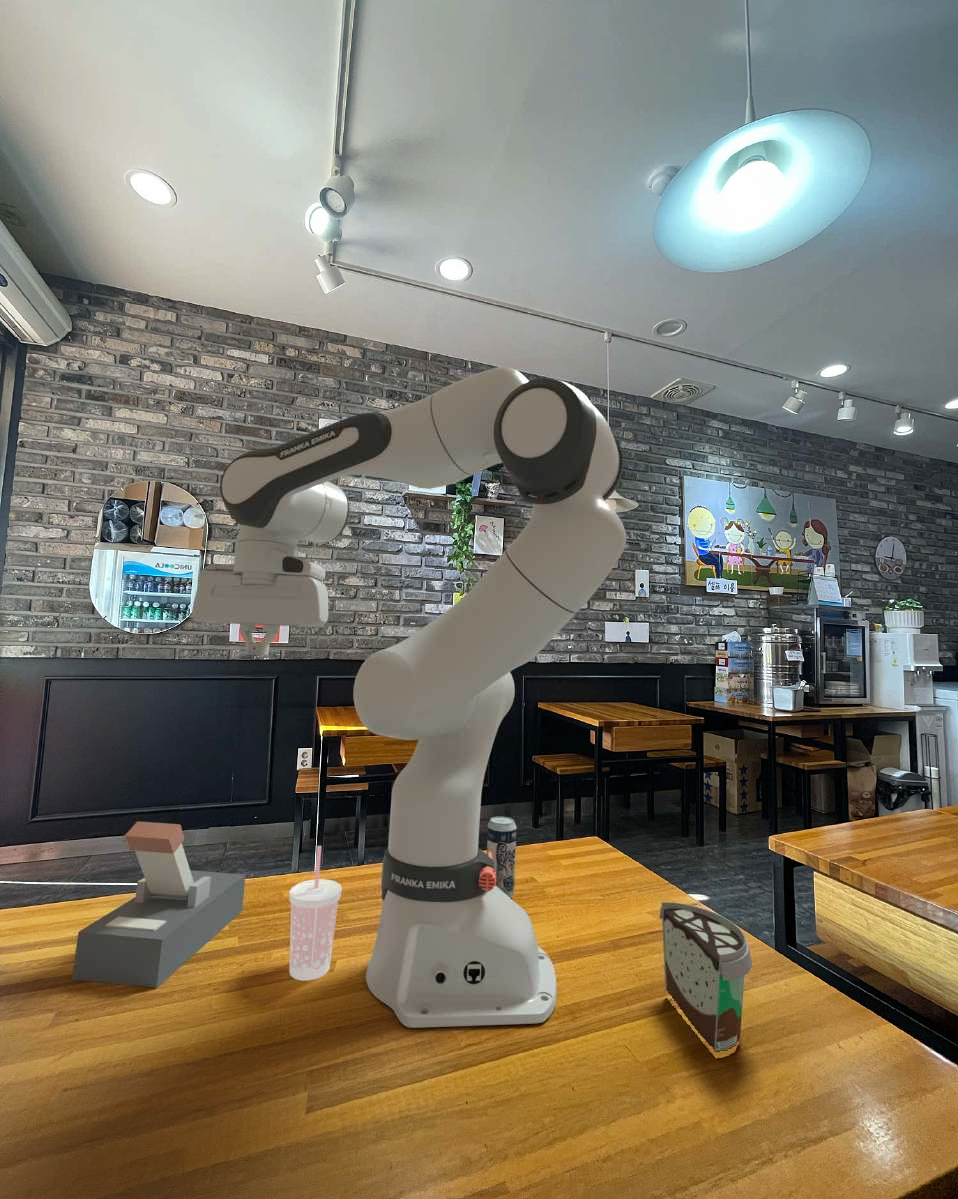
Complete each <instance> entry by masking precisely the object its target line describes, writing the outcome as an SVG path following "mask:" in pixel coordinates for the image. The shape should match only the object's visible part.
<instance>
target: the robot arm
mask: <svg viewBox="0 0 958 1199" xmlns="http://www.w3.org/2000/svg"><path fill="white" fill-rule="evenodd" d="M589 399H590V398H588V397H587V395H585V393H583V392H582V391H581V390H580V389H578V388H577V387H575V386H573V385H572V384H570V383H567V382H566V381H562V380H561V379H556V378H550V377H549V378H548V377H547V378H545V377H544V378H543V377H542V378H536V379H532V380H529V379H527V378H526V376H525V375H524V374H522V373H521V372H520V371H518V369H515V368H513V367H508V366H498V367H497V366H496V367H493V368H490V369H487V370H484V371H481V372H478V373H475V374H473V375H469V376H467V377H465V378H462V379H460V380H457V381H455V382H453V383H451V384H448V385H447V386H445V387H443V388H441V389H439V390H437V391H436V392H433V393H432V394H430V395H428V396H426V397H424V398H421V399H420V400H417V401H415V402H411V403H410V404H405V405H402V406H399V407H395V408H392V409H388V410H382V411H373V412H365V413H359V414H356V415H352V416H348V417H346V418H343V419H341V420H338V421H336V422H333V423H331V424H328V425H326V426H323V427H321V428H318V429H316V430H314V431H311V432H308V433H307V434H304V435H302V436H299V437H297V438H295V439H292V440H290V441H288V442H287V441H286V442H285V443H282V444H280V445H278V446H277V445H276V446H274V447H269V448H258V449H257V448H255V449H252V450H249V451H247V452H244V453H242V454H240V455H239V456H237V457H235V458H234V459H233V460H232V461H231V462H230V463H229V464H228V465H227V466H226V468H225V469H224V471H223V473H222V475H221V478H220V479H221V480H220V483H219V492H220V497H221V500H222V502H223V504H224V506H225V508H226V510H227V512H228V514H229V515H230V517H231V518H232V520H233V521H234V522H235V523H237V524H238V525H240V529H239V533H238V535H237V538H236V540H235V550H234V559H233V560H234V561H233V564H231V563H227V564H219V563H211V564H208V566H205V567H203V569H202V570H200V572H199V575H198V583H197V584H198V585H197V589H196V591H195V595H194V600H193V604H192V610H191V614H192V617H193V619H194V620H195V622H199V623H206V624H207V623H209V624H230V625H231V624H232V625H233V624H234V625H239V633H240V635H241V637H242V639H243V641H244V643H245V647H244V653H245V655H253V656H254V655H257V656H259V655H260V656H269V654H270V645H271V644H272V642H273V640H274V639H275V638H276V637H277V635H278V633H279V627H280V626H282V627H283V626H284V627H286V626H287V627H306V628H307V627H312V628H323V627H324V626H325V625H326V624H327V622H328V618H329V592H328V588H327V586H326V584H324V582H323V581H324V580H325V578H326V570H325V568H324V567H322V566H320V565H318V564H317V563H316V562H315V563H314V562H312V561H310V560H307V559H305V558H304V557H301V556H298V555H297V552H298V546H297V545H298V542H300V541H306V542H310V543H315V544H328V543H331V542H332V541H334V540H336V539H337V538H338V537H339V536H340V535H341V534H342V533H343V531H344V530H345V528H346V526H347V524H348V521H349V516H350V503H349V500H348V499H349V498H348V496H347V495H346V493H345V491H344V490H343V489H342V488H341V487H339V486H337V485H336V484H334V483H332V482H331V481H332V480H335V479H338V478H341V477H345V476H353V475H355V476H356V475H358V476H371V477H377V478H381V479H386V480H388V481H389V480H390V481H394V482H398V483H400V484H405V485H408V486H411V487H415V488H420V489H424V490H425V489H426V490H427V489H428V490H430V489H436V488H441V487H446V486H449V485H454V484H456V483H458V482H461V481H464V480H465V479H467V478H469V477H472V476H473V475H476V474H478V473H479V472H482V471H484V470H486V469H488V468H491V467H492V466H495V465H498V464H502V465H503V466H504V468H505V469H506V471H507V473H508V474H509V476H510V478H511V480H512V482H513V484H514V485H515V488H516V489H517V491H518V492H519V495H520V497H521V499H522V500H523V501H525V502H527V503H530V504H532V513H531V515H530V517H529V520H528V522H527V524H526V525H525V526H524V528H523V529H522V530H521V531H520V533H519V534H518V535H517V537H516V538H514V539H513V540H512V542H511V543H510V544H509V545H508V547H507V548H506V549H505V550H504V551H503V552H502V553H501V555H500V556H499V557H498V558H497V559H496V560H495V562H494V563H493V564H492V565H491V566H490V567H489V568H488V570H487V571H486V572H485V573H484V574H483V575H482V576H481V577H480V578H479V580H478V581H477V582H476V583H475V584H474V586H473V587H472V588H471V589H470V590H469V591H468V592H467V593H466V594H465V595H464V596H463V597H462V598H461V599H460V600H459V601H457V602H456V603H455V604H453V605H452V606H451V607H449V609H447V610H446V611H445V612H443V613H442V614H441V615H439V616H437V617H436V618H434V620H432V621H431V622H430V623H429V622H428V624H426V625H425V626H423V627H422V628H421V629H419V630H418V631H416V632H415V633H414V634H412V635H411V636H408V637H407V638H406V639H403V640H402V641H400V642H398V643H396V644H394V645H392V646H390V647H387V648H384V649H381V650H379V651H376V652H374V653H372V654H370V656H368V657H367V658H366V659H365V660H364V662H363V663H362V664H361V666H360V668H359V670H358V672H357V674H356V677H355V679H354V684H353V692H352V694H353V702H354V703H353V704H354V708H355V712H356V714H357V716H358V718H359V720H360V723H362V725H363V726H364V727H365V728H366V730H368V731H369V732H371V733H373V734H375V735H377V736H381V737H388V738H392V739H399V740H407V741H415V740H416V741H417V740H418V741H417V744H416V747H415V749H414V752H413V754H412V756H411V758H410V759H409V761H408V763H407V764H406V765H405V767H404V768H403V769H402V770H401V771H400V772H399V773H398V775H397V777H396V779H395V780H394V782H393V786H392V788H391V789H392V790H391V801H390V802H391V803H390V804H391V805H390V813H389V814H390V816H389V830H388V831H389V832H388V846H387V848H386V849H385V850H384V855H383V859H382V867H381V880H380V883H381V884H380V889H381V900H382V907H381V912H380V919H379V923H378V924H379V925H378V929H377V934H376V938H375V942H374V946H373V950H372V953H371V957H370V960H369V963H368V966H367V969H366V970H365V971H366V972H365V980H366V985H367V987H368V989H369V991H370V992H371V993H372V994H373V996H374V997H376V999H378V1000H380V1001H381V1002H382V1003H383V1004H385V1005H387V1006H388V1007H389V1008H390V1009H392V1010H393V1011H394V1013H395V1015H396V1018H397V1019H398V1021H399V1022H400V1023H401V1024H402V1025H403V1026H405V1027H407V1028H414V1029H416V1028H417V1029H418V1028H440V1027H441V1028H442V1027H443V1028H445V1027H448V1028H449V1027H470V1026H471V1027H472V1026H497V1025H500V1026H502V1025H521V1024H522V1025H527V1024H539V1023H540V1024H541V1023H544V1022H546V1020H547V1019H548V1018H550V1017H551V1015H552V1013H553V1011H554V1009H555V1006H556V1003H557V995H558V991H557V989H558V988H557V977H556V971H555V967H554V964H553V962H552V960H551V958H550V956H549V955H548V954H547V953H546V951H545V950H543V948H541V946H539V945H538V942H537V937H536V932H535V930H534V926H533V924H532V920H531V918H530V916H529V915H528V913H527V912H526V911H525V909H524V908H522V906H520V905H519V904H518V903H517V902H516V901H514V899H511V898H509V897H508V896H507V895H506V894H505V893H504V892H503V891H502V890H500V889H499V888H498V887H497V886H496V877H497V875H496V872H495V870H494V861H493V860H492V854H491V852H490V851H489V855H487V853H486V852H484V851H483V850H482V849H481V848H480V847H479V840H480V839H479V838H480V837H479V836H480V822H481V821H480V819H481V803H482V792H483V791H482V790H483V784H484V780H485V776H486V774H485V773H486V771H487V767H488V762H489V758H490V755H491V752H492V748H493V746H494V745H493V744H494V741H495V738H496V736H497V733H498V731H499V727H500V725H501V723H502V721H503V719H504V718H505V716H506V715H507V714H508V712H509V711H510V709H511V707H512V706H513V703H514V699H515V694H516V693H515V691H516V690H515V682H514V678H513V675H512V673H511V672H512V671H513V670H516V668H519V667H521V666H523V665H525V664H527V663H529V662H530V661H531V660H533V659H534V658H535V657H536V656H538V654H539V653H540V652H541V651H542V650H543V649H544V648H545V647H546V646H547V644H549V643H550V641H551V640H553V639H554V637H555V636H556V635H558V633H560V631H562V629H563V628H564V627H565V626H566V625H567V624H568V623H569V622H570V621H571V619H572V618H573V617H574V616H575V615H576V614H577V613H578V612H579V611H580V610H581V609H582V608H583V606H585V605H586V604H587V602H588V601H589V600H590V599H591V597H592V596H593V595H594V594H595V593H596V591H598V589H599V588H600V587H601V585H602V584H603V582H604V581H605V580H606V579H607V577H608V576H609V574H610V573H611V571H612V570H613V569H614V567H615V565H616V564H617V562H618V560H619V559H620V558H621V556H622V555H623V552H624V550H625V548H626V544H627V533H626V530H625V526H624V524H623V522H622V520H621V518H620V516H619V515H618V514H617V513H616V511H615V510H614V509H613V508H612V507H611V506H610V504H608V503H607V502H606V500H608V499H609V497H611V496H612V495H613V493H614V492H615V491H616V489H617V488H618V485H619V483H620V482H621V479H622V475H623V470H624V469H623V466H624V460H623V459H624V458H623V455H622V454H623V453H622V450H621V447H620V444H619V443H618V440H616V438H615V437H614V435H613V433H612V430H611V427H610V425H609V423H608V422H607V420H606V418H605V417H604V416H603V414H602V413H601V412H600V411H599V409H598V408H596V407H595V405H593V404H592V403H591V401H590V400H589ZM258 625H260V626H262V625H263V626H262V627H263V628H262V631H263V632H264V633H265V634H264V636H263V637H262V639H261V640H260V642H256V641H255V638H254V635H253V633H254V632H256V626H258Z"/></svg>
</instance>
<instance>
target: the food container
mask: <svg viewBox="0 0 958 1199" xmlns="http://www.w3.org/2000/svg"><path fill="white" fill-rule="evenodd" d="M659 910H660V911H659V918H658V919H659V920H662V921H661V923H662V925H661V926H662V941H663V942H662V943H663V944H662V946H663V963H664V964H663V966H664V970H663V971H664V987H665V988H664V990H665V989H666V991H668V993H669V994H670V995H671V996H672V998H673V999H674V1001H676V1003H677V1004H678V1006H679V1007H680V1009H681V1010H682V1011H683V1013H684V1014H685V1016H686V1017H687V1018H688V1020H689V1021H690V1022H691V1024H692V1025H693V1026H694V1027H695V1029H696V1030H697V1031H698V1033H700V1035H701V1036H702V1037H703V1038H704V1039H705V1040H706V1042H708V1044H709V1045H710V1046H712V1047H713V1049H714V1051H715V1052H720V1051H727V1050H728V1049H731V1048H732V1047H734V1046H736V1044H737V1042H738V1041H739V1039H740V1040H741V1032H742V1018H743V1017H742V1016H743V1015H742V1014H743V1001H744V1000H743V999H744V988H745V987H744V985H745V976H746V975H747V974H748V973H750V971H751V970H752V967H753V959H752V955H751V951H750V945H749V943H748V941H747V939H746V936H745V933H744V932H743V931H742V930H741V929H740V927H739V926H737V925H736V924H735V923H733V922H732V921H731V920H729V919H727V918H726V917H724V916H722V915H720V914H719V913H716V912H714V911H710V910H709V909H706V908H703V907H700V906H695V905H692V904H687V903H681V902H671V901H670V902H669V901H661V906H660V908H659Z"/></svg>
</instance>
